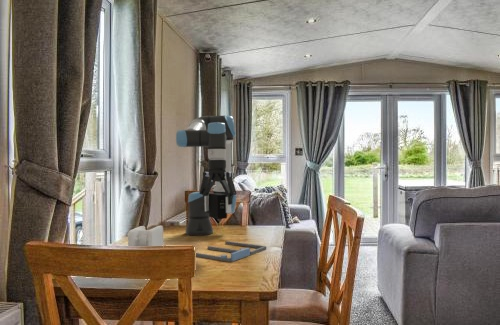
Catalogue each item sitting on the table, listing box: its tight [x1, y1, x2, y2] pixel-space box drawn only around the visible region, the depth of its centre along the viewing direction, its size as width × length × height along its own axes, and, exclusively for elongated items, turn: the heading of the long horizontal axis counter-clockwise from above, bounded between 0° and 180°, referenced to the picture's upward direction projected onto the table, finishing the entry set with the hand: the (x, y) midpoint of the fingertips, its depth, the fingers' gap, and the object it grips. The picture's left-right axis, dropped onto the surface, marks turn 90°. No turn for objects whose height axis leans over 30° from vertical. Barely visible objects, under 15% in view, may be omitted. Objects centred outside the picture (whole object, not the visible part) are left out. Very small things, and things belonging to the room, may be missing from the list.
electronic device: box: [209, 192, 228, 220], centre depth 163 cm, size 4×10×10 cm, turn 28°
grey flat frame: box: [195, 240, 267, 263], centre depth 168 cm, size 27×23×3 cm
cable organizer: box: [126, 225, 164, 247], centre depth 165 cm, size 15×11×12 cm
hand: (217, 211), depth 163 cm, fingers closed on electronic device, 11 cm apart
